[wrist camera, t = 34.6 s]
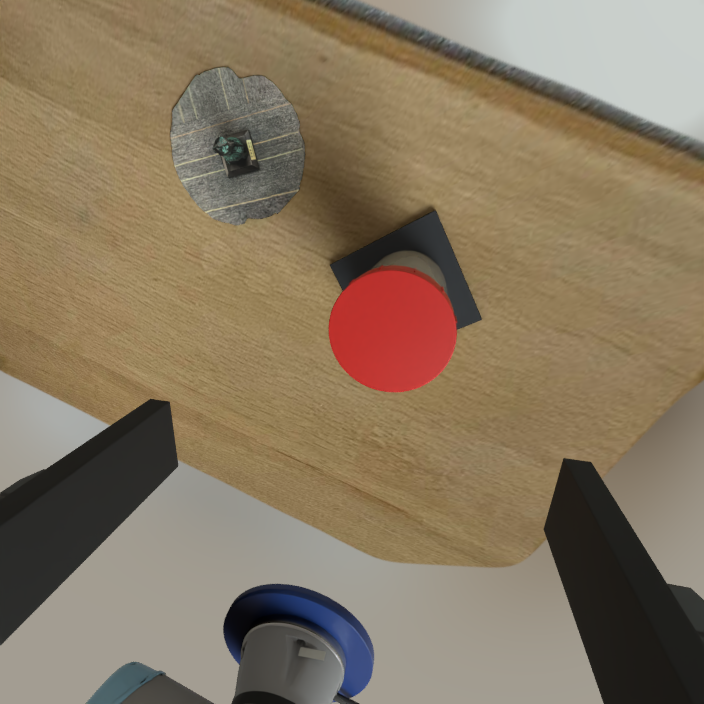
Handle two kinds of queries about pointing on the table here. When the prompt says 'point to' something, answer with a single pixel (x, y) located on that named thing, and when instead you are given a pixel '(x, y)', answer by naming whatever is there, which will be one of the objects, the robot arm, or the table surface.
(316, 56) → the table surface
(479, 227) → the table surface
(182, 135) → the sculpture
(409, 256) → the jar
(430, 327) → the lid
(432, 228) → the mat
